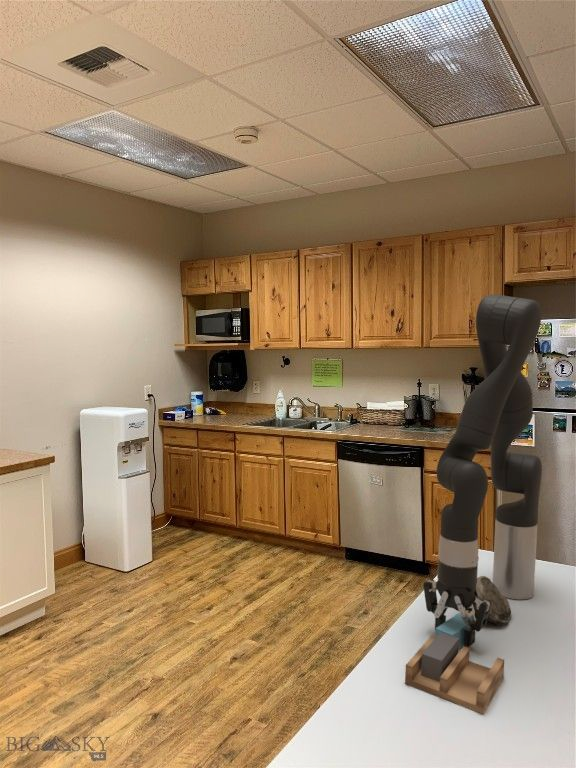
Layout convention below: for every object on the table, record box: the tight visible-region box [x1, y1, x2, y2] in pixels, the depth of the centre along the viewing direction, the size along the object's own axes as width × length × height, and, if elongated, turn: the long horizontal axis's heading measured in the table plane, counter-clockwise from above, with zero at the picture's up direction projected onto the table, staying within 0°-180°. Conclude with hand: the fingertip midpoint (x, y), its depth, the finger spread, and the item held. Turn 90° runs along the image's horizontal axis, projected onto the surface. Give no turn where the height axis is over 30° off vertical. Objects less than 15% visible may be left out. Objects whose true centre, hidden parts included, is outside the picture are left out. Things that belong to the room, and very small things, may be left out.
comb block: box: [404, 635, 505, 715], centre depth 103 cm, size 12×14×4 cm
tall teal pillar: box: [434, 612, 466, 649], centre depth 116 cm, size 9×4×4 cm, turn 135°
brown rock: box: [466, 575, 512, 626], centre depth 126 cm, size 11×9×10 cm
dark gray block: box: [421, 632, 460, 682], centre depth 105 cm, size 9×4×4 cm, turn 145°
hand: (454, 639), depth 116 cm, fingers open, 5 cm apart
